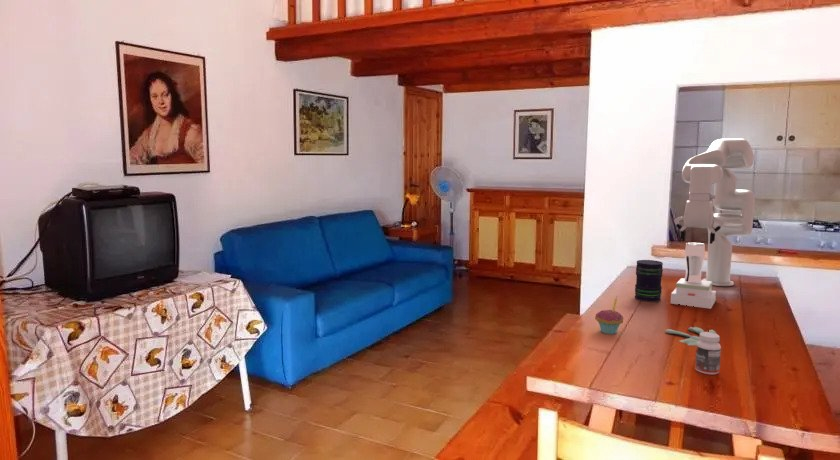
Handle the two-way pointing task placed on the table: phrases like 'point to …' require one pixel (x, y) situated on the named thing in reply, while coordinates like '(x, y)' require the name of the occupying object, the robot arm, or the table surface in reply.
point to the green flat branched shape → (691, 339)
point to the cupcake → (609, 320)
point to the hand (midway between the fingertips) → (697, 242)
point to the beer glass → (694, 261)
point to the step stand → (694, 294)
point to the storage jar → (648, 280)
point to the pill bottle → (708, 353)
